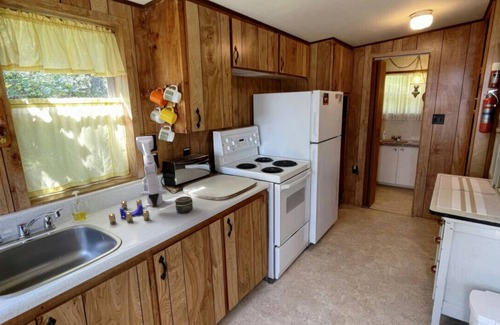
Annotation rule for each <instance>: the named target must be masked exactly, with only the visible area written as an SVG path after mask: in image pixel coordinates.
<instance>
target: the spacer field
mask: <svg viewBox="0 0 500 325" xmlns="http://www.w3.org/2000/svg"><path fill="white" fill-rule="evenodd" d="M151 202H152V201H151ZM120 204H121V208H123V210H124V211H126V210H128V209H129V208H128V203H127V200H122V201H120ZM135 204H136V208H139V204H142V205H143V203H142V199H137V200H136V203H135ZM157 207H158V205H157V206H156V207H154V205H153V203H152V205H151V208H157ZM132 212H133V211H128V212H127V213H126V218H125V219H126V223H129V224H130V223H132V222H134V218H133V217H132ZM108 218H109V219H108V220H109V224H110V225H115V224H117V219H116V214H115V213H110V214H108ZM150 219H151V218H150V211H149V210H143V221H144V222H148V221H150Z"/></svg>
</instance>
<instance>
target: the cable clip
mask: <svg viewBox="0 0 500 325" xmlns="http://www.w3.org/2000/svg"><path fill="white" fill-rule="evenodd" d="M136 208H137V207H136ZM143 211H144V209H143V203H142V204H139V208H137V209H135V210H134V211H131V212H132V217H138V216H142V215H143ZM119 213H120V219H121V220H123V219H127V218H126V213H127V212H126V210H123V208H122V207H119Z"/></svg>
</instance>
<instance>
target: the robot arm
mask: <svg viewBox="0 0 500 325" xmlns="http://www.w3.org/2000/svg"><path fill="white" fill-rule="evenodd" d="M135 139H136V146H137V149H138V151H139V152H141V154H142V156H143V157H142V158H143V163H144V165H143V169H144V173H145V176H144V177H143V178H142V180H141V182H142V189H143V191H141V192H140V193H139V194H140V196H141V197H142V196H146V202H147V203H146V204H145V207H148V206H151V207H152V203H153V205H154V207H153V208H157V207H158V206H160V205H162V203H163V201H164V199H163V195H165V194H166V195H167V193H168V192H167V191H168V190H167V189H160V188H161V187H160V179H159V178H158V176H157V175H158V174H157V173H158V166H157V164H156V162H155V157H154V155H153V154H151V151H152V150H153V149H154V136H152V135H148V136H136V138H135ZM151 201H152V202H151ZM156 206H157V207H156Z"/></svg>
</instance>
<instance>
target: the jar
mask: <svg viewBox="0 0 500 325" xmlns="http://www.w3.org/2000/svg"><path fill="white" fill-rule="evenodd" d="M174 203H175V204H174V205H175V210H176V212H177V213H178V214H180V215H185V214H190V213H191V212H192V211H193V210H194V209H193V208H194V206H193V203H194V201H193V198H192V197H191V196H186V195H185V196H180V197H179V196H178V197H177V198H175V200H174Z"/></svg>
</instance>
